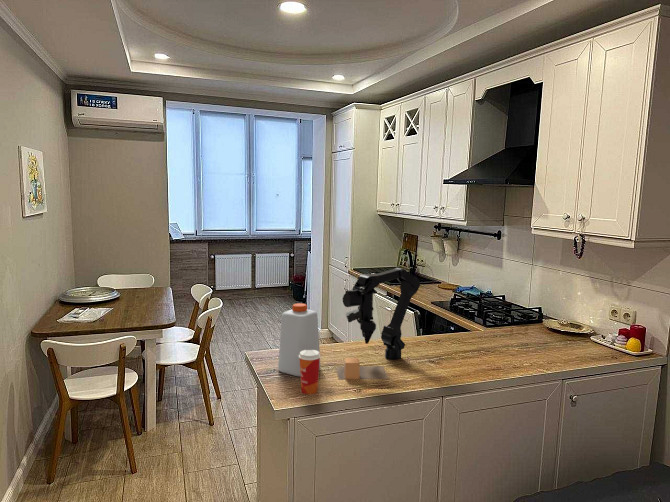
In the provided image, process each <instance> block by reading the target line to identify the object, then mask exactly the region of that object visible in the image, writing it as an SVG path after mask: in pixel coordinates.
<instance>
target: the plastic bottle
mask: <svg viewBox="0 0 670 502" xmlns="http://www.w3.org/2000/svg"><path fill="white" fill-rule="evenodd" d="M291 307H292V308H291V309H288V310H286V311H283V312H282V314H281V320H280V321H281V322H280V334H279V335H280V337H279V351H278V363H277V365H278V370H279V372H281V373H283V374H286V375H287V374H288V375H291V376H294V377H297V378H298V377H300V378H301V376H300V358H299V355H300V352H301V351H303V350H317V351H319V353H320V337H319V336H320V335H319V322H318V318H319V317H318V312H317V311H316V310H312V309H308V305H307V304H306V303H299V302H298V303H294V304H292V306H291ZM319 369H321V360H320V361H319Z"/></svg>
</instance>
